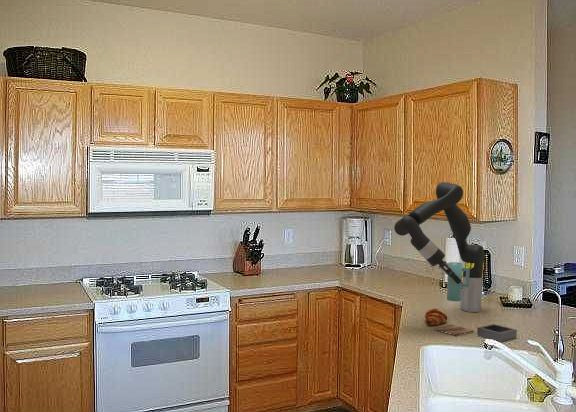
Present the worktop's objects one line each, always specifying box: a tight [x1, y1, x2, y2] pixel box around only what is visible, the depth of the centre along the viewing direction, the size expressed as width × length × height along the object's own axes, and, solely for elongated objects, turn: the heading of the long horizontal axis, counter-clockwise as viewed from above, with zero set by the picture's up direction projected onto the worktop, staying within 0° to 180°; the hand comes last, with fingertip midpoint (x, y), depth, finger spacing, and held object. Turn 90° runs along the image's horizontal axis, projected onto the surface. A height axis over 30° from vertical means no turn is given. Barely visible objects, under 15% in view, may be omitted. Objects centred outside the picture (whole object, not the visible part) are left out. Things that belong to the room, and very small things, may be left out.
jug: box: [446, 261, 471, 302], centre depth 245 cm, size 9×6×16 cm, turn 82°
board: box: [433, 324, 475, 336], centre depth 246 cm, size 12×12×1 cm
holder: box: [476, 323, 518, 343], centre depth 238 cm, size 11×11×4 cm
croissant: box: [424, 308, 448, 326], centre depth 262 cm, size 21×10×8 cm, turn 151°
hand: (458, 281), depth 245 cm, fingers closed on jug, 6 cm apart
